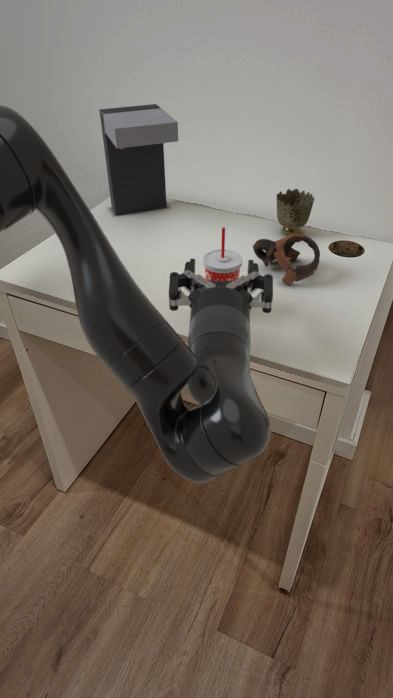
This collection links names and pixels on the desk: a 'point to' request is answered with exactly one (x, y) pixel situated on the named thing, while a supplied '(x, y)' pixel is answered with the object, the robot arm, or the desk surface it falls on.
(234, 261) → the beverage cup
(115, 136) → the coffee machine
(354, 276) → the desk surface
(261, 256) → the leather belt
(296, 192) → the cup
